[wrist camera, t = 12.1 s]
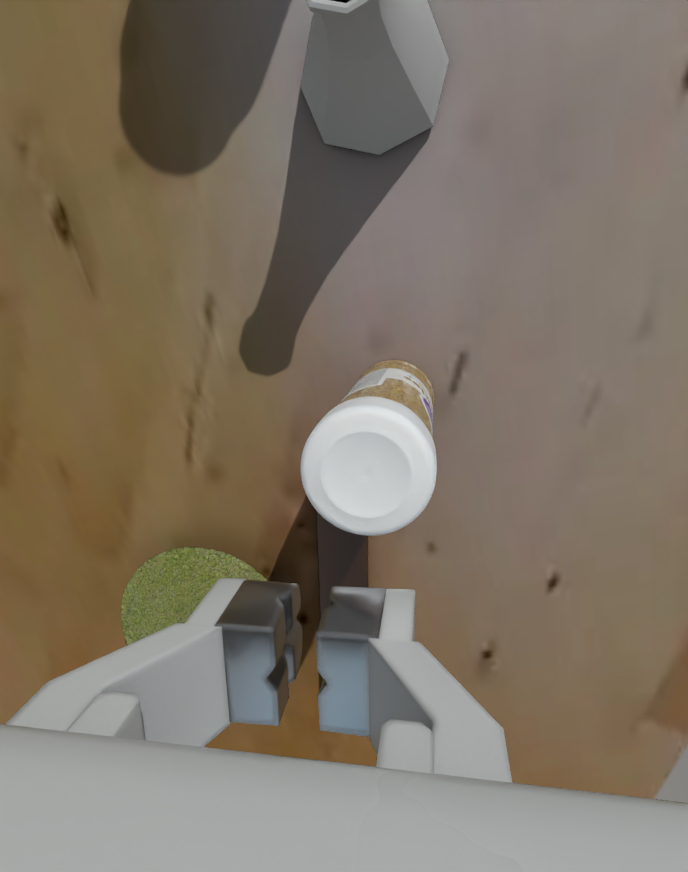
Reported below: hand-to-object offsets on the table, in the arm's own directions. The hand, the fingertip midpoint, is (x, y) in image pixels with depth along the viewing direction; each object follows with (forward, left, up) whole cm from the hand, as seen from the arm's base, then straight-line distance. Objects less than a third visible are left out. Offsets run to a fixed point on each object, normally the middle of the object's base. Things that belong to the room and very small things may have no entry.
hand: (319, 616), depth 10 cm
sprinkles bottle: (0, 0, -22) cm, 22 cm away
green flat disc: (-12, -14, -22) cm, 28 cm away
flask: (-1, +16, -22) cm, 27 cm away
